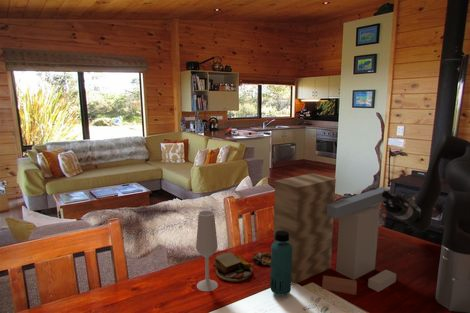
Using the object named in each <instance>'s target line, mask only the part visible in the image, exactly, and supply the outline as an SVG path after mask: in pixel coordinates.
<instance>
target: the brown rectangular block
mask: <svg viewBox="0 0 470 313" xmlns="http://www.w3.org/2000/svg"><path fill="white" fill-rule="evenodd" d="M321 289H322V290H327V291H333V292H337V293H343V294H348V295H354V296H356V295H357V280H356V279H355V280H353V279H350V278H349V279H348V278H342V277H336V276H330V275H325V274H324V275H323V276H322V286H321Z"/></svg>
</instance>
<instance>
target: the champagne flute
mask: <svg viewBox="0 0 470 313" xmlns="http://www.w3.org/2000/svg"><path fill="white" fill-rule="evenodd" d="M197 216H198V217H197V218H198V219H197V229H196V230H197V231H196V241H195V249H196V251H197V252H198V254H199V255H200V256H201V257H204V264H205V265H204V266H205V267H204V271H205V278H204V279H203V280H200V281H199V282H197V284H196V287H197V289H198V290H199V291H202V292H211V291H214V290H216V289H217V288H218V287H219V283H218V282H217V281H216V280H213V279H210V257H212V256H213V255H214V254H215V253H216V252H217V250H218V238H217V237H218V236H217V229H216V228H217V227H216V219H215V218H216V217H215V216H216V215H215V212H214V211H212V210H202V211H201V210H200V211H199V212H198V215H197Z"/></svg>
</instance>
